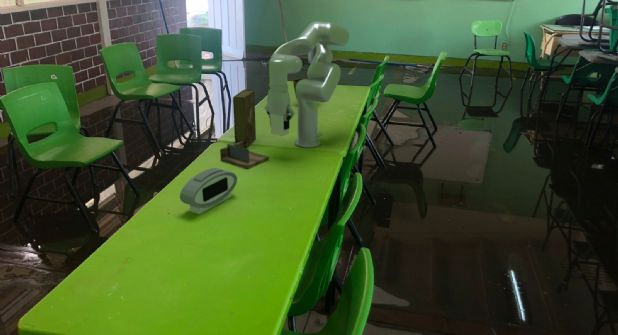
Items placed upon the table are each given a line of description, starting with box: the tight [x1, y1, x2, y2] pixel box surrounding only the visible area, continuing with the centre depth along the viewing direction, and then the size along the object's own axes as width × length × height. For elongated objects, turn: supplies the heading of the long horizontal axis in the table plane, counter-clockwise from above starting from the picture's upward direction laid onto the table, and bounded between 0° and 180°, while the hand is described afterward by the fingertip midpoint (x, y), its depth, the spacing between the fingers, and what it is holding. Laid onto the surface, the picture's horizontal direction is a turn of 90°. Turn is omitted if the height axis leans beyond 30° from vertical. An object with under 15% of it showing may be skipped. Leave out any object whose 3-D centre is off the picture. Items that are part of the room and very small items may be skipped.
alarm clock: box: [179, 167, 238, 215], centre depth 171 cm, size 23×6×13 cm, turn 148°
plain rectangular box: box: [269, 112, 290, 137], centre depth 210 cm, size 4×7×10 cm, turn 54°
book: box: [232, 89, 257, 149], centre depth 230 cm, size 16×6×25 cm, turn 168°
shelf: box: [219, 141, 270, 170], centre depth 212 cm, size 14×16×8 cm
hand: (279, 127), depth 211 cm, fingers closed on plain rectangular box, 7 cm apart
